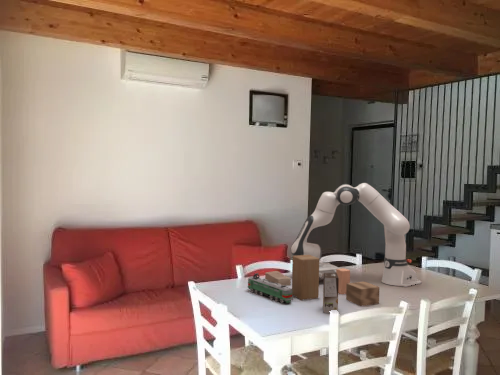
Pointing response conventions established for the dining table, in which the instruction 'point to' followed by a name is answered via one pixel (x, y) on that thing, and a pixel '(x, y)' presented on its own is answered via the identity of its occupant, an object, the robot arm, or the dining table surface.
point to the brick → (278, 278)
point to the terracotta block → (343, 279)
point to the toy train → (270, 289)
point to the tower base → (362, 293)
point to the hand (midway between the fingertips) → (330, 274)
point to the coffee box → (330, 292)
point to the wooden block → (305, 277)
